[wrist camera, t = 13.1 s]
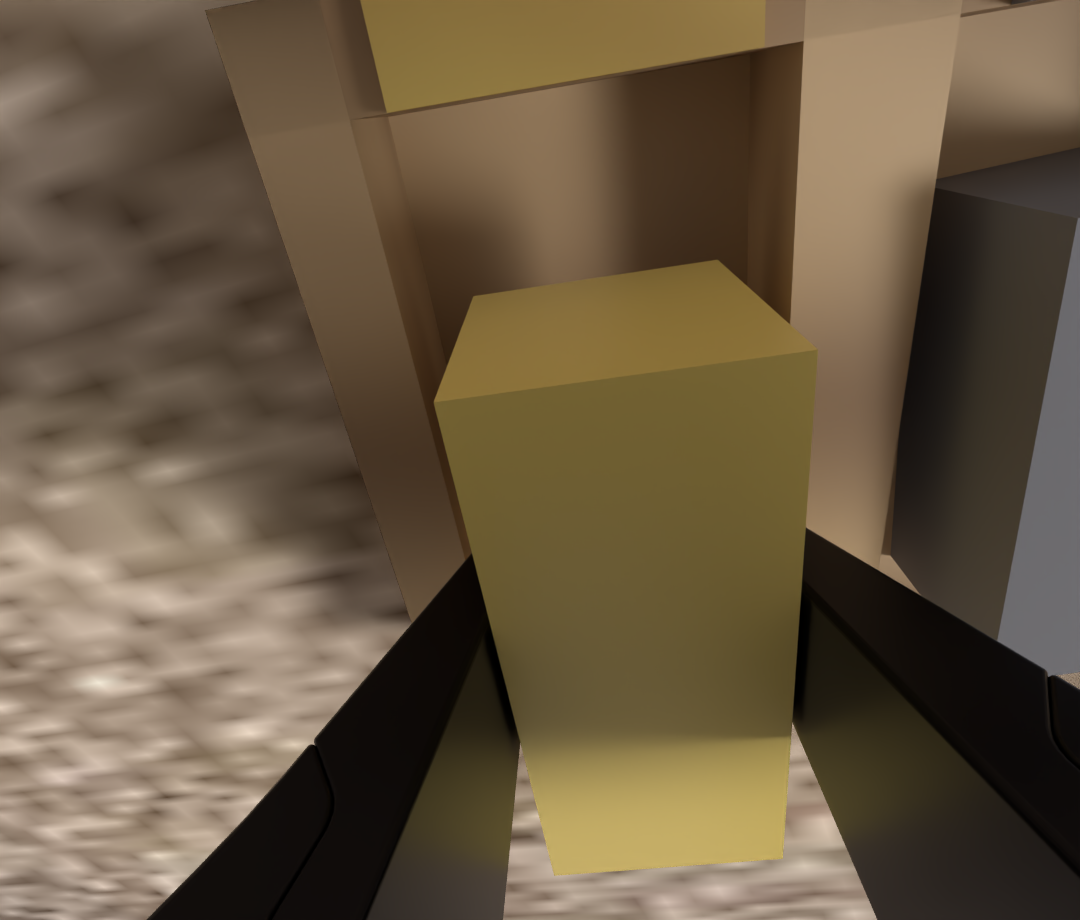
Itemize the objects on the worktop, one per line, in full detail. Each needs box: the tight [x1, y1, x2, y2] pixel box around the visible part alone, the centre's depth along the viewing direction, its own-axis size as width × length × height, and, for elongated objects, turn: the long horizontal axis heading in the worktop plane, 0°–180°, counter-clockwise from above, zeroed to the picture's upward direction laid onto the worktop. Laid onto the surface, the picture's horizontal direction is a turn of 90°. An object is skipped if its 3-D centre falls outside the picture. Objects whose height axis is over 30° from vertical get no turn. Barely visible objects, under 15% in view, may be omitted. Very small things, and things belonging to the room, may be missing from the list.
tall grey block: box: [890, 147, 1080, 676], centre depth 9 cm, size 7×3×3 cm, turn 12°
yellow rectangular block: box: [434, 260, 818, 876], centre depth 8 cm, size 7×3×3 cm, turn 9°
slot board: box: [205, 0, 1080, 623], centre depth 10 cm, size 12×14×3 cm
